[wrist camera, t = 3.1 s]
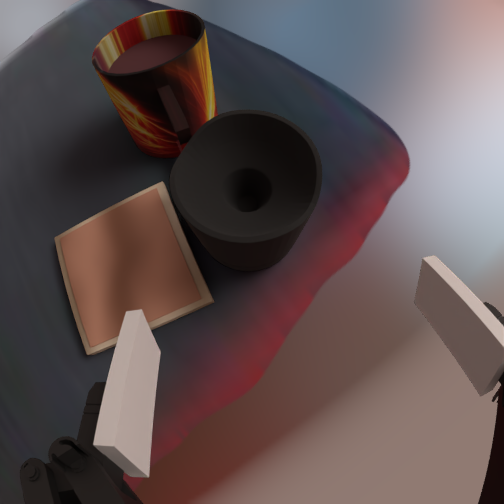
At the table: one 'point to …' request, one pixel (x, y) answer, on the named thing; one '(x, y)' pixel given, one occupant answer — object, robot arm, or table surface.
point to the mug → (159, 78)
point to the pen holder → (247, 187)
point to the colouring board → (130, 268)
